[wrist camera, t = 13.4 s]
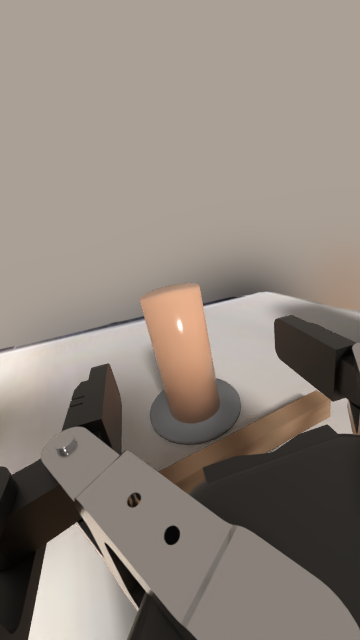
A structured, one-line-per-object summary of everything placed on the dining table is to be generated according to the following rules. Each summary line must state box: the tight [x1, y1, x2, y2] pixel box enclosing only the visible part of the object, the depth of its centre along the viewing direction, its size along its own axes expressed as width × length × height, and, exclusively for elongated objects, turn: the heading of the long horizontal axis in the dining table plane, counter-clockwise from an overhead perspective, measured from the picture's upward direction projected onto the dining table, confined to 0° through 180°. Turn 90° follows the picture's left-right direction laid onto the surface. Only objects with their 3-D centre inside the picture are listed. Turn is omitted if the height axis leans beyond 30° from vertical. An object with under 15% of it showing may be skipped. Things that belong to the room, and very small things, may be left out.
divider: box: [159, 390, 331, 494], centre depth 20 cm, size 20×2×2 cm, turn 113°
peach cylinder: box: [140, 283, 220, 424], centre depth 25 cm, size 6×6×13 cm
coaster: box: [150, 378, 241, 444], centre depth 27 cm, size 10×10×1 cm
